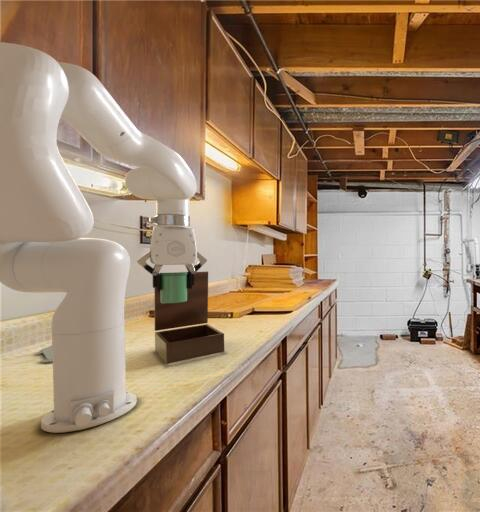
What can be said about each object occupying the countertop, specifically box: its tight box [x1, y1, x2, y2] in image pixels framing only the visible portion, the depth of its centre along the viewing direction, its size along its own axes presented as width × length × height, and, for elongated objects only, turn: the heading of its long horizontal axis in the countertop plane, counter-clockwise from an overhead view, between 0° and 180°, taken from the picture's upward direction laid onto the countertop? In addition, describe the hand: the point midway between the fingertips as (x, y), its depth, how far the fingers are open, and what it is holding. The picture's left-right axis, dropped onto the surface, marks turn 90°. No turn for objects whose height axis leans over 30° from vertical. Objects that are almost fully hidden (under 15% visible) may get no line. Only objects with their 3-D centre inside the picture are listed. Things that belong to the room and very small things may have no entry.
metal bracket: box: [35, 344, 53, 364], centre depth 91 cm, size 14×6×15 cm
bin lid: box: [153, 271, 209, 332], centre depth 94 cm, size 16×14×1 cm
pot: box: [159, 270, 188, 303], centre depth 84 cm, size 6×6×8 cm
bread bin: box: [154, 323, 225, 365], centre depth 89 cm, size 16×14×6 cm
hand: (174, 288), depth 84 cm, fingers closed on pot, 6 cm apart
